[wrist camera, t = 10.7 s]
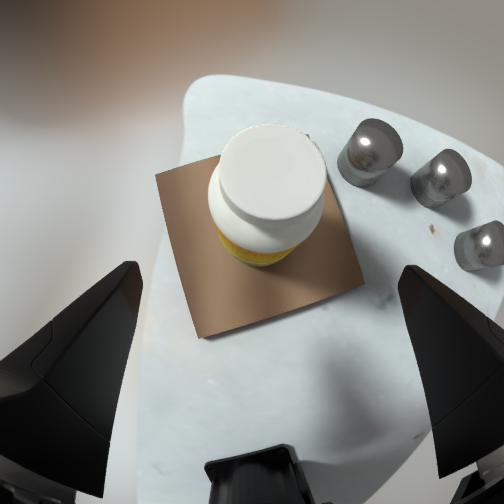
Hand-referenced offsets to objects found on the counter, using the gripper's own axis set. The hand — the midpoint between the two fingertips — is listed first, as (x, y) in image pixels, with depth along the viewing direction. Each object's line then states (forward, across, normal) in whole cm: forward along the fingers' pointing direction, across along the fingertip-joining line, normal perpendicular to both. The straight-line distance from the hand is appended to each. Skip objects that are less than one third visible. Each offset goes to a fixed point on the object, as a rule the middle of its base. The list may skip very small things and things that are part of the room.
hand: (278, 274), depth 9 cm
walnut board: (+10, 0, +5) cm, 12 cm away
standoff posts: (+13, -14, +3) cm, 19 cm away
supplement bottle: (+10, 0, +4) cm, 11 cm away
